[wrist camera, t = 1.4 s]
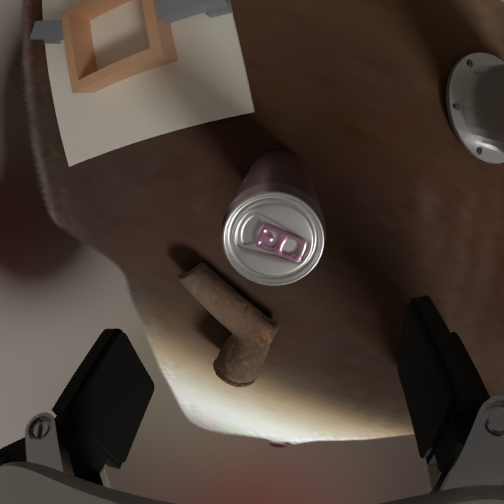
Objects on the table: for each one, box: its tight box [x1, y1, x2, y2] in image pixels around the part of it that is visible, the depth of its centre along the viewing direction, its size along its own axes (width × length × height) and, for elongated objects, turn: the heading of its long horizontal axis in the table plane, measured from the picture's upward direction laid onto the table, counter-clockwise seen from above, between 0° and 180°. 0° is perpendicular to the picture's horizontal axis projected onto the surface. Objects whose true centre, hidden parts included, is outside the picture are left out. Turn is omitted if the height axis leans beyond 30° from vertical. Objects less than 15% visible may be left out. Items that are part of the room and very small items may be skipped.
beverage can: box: [222, 151, 326, 286], centre depth 23 cm, size 6×6×15 cm
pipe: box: [178, 263, 279, 387], centre depth 36 cm, size 6×17×10 cm
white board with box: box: [30, 0, 255, 167], centre depth 22 cm, size 22×24×5 cm
